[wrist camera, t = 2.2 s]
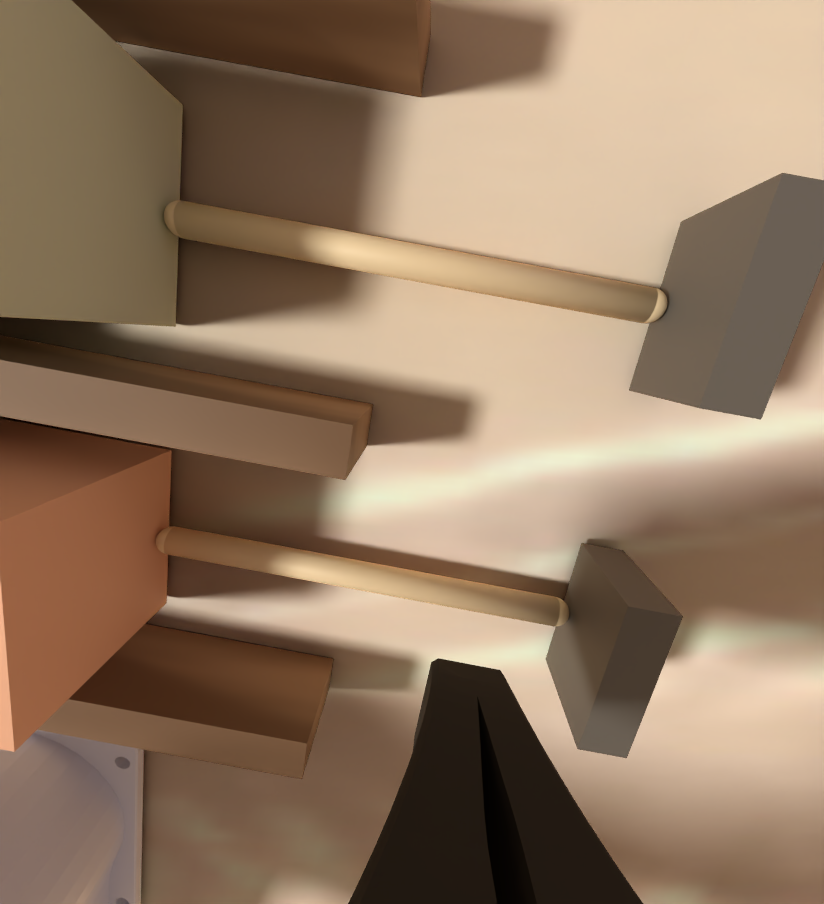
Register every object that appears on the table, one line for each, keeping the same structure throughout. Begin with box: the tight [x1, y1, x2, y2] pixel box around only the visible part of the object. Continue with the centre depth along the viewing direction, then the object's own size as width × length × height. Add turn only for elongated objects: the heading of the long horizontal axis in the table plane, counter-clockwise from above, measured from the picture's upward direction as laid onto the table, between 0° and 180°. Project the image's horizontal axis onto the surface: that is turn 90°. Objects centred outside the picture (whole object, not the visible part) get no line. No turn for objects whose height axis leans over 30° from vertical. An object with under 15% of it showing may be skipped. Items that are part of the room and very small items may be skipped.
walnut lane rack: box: [0, 0, 431, 779], centre depth 10 cm, size 18×12×4 cm, turn 170°
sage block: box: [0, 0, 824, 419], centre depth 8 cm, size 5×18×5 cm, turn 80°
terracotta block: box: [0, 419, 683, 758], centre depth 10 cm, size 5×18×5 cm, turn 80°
